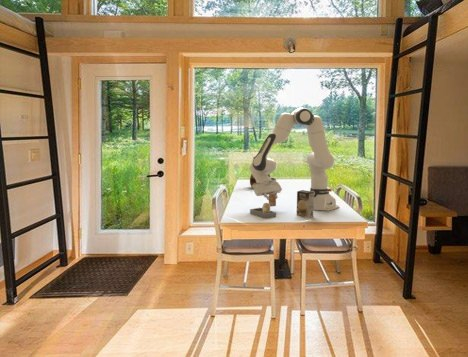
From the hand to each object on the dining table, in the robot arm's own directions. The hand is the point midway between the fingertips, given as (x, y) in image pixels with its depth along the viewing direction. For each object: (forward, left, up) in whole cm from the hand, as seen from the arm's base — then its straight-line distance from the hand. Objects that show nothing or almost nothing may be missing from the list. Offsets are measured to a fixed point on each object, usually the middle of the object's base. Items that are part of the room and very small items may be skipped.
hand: (272, 198), depth 238 cm
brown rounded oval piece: (0, -1, -5) cm, 5 cm away
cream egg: (+11, +8, -8) cm, 16 cm away
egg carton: (+11, +4, -9) cm, 15 cm away
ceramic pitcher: (-52, -84, -9) cm, 99 cm away
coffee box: (-11, +19, -9) cm, 24 cm away
